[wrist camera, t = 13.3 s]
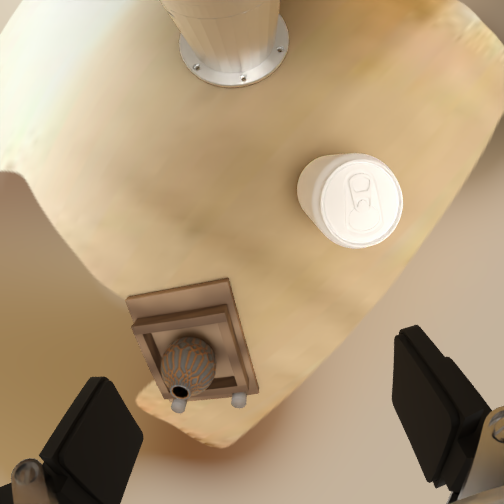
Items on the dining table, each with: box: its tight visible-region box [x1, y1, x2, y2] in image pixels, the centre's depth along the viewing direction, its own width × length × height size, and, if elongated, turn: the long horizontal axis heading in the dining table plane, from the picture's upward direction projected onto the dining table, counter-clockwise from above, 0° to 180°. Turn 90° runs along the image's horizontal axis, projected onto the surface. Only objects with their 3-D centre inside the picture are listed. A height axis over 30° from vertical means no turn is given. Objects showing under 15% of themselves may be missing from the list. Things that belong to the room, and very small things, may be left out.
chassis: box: [125, 278, 259, 413], centre depth 39 cm, size 18×14×4 cm
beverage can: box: [297, 153, 403, 248], centre depth 29 cm, size 8×8×12 cm
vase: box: [161, 337, 217, 400], centre depth 36 cm, size 7×7×9 cm
